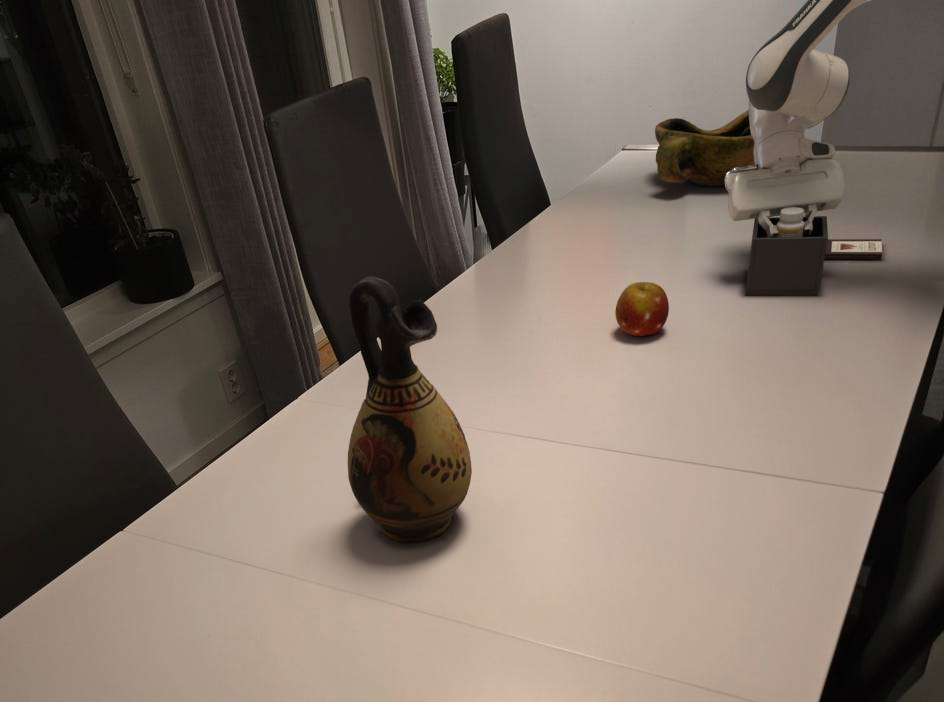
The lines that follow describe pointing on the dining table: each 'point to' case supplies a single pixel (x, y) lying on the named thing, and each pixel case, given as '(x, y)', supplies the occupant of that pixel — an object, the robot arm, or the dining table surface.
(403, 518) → the ceramic jug
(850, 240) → the chocolate bar
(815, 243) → the trash bin
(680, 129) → the bowl
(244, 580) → the dining table surface
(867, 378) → the dining table surface
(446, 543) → the dining table surface
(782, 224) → the supplement bottle
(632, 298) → the fruit
